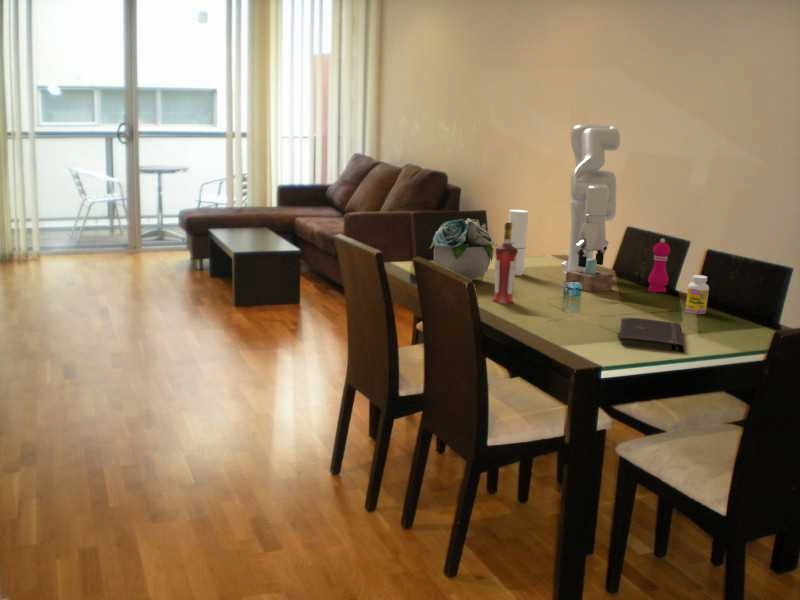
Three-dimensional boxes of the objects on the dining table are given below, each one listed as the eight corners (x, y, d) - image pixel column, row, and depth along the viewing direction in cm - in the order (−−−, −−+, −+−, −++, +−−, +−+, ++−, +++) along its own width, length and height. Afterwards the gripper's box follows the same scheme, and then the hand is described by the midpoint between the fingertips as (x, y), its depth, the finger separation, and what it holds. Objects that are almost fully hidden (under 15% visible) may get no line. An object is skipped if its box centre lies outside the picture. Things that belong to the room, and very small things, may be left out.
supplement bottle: (684, 314, 305) (688, 277, 302) (685, 310, 311) (689, 273, 308) (705, 317, 303) (710, 279, 300) (705, 312, 309) (710, 275, 306)
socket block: (565, 287, 339) (566, 271, 338) (586, 284, 347) (587, 268, 345) (590, 293, 330) (592, 277, 329) (611, 290, 338) (613, 274, 336)
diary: (680, 338, 276) (682, 322, 275) (683, 361, 253) (685, 343, 252) (617, 331, 281) (618, 316, 280) (614, 353, 257) (616, 336, 256)
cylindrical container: (510, 271, 365) (515, 209, 359) (526, 274, 361) (531, 211, 355) (501, 273, 359) (506, 210, 353) (517, 276, 355) (522, 212, 349)
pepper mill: (662, 294, 334) (668, 240, 329) (643, 291, 338) (649, 238, 334) (670, 291, 340) (676, 238, 335) (651, 288, 344) (657, 236, 339)
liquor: (493, 301, 312) (498, 220, 305) (514, 303, 310) (520, 221, 304) (490, 306, 305) (496, 223, 298) (512, 308, 303) (518, 224, 297)
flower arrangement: (501, 290, 329) (506, 223, 324) (434, 290, 325) (437, 222, 320) (484, 276, 353) (488, 213, 348) (421, 275, 349) (424, 212, 343)
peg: (579, 285, 338) (582, 259, 336) (587, 284, 341) (589, 258, 339) (589, 288, 335) (591, 261, 333) (596, 286, 338) (599, 260, 335)
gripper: (601, 216, 341) (597, 261, 344) (571, 219, 330) (567, 266, 334) (617, 219, 335) (613, 265, 339) (587, 222, 324) (583, 269, 328)
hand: (590, 265), depth 336 cm, fingers open, 9 cm apart
